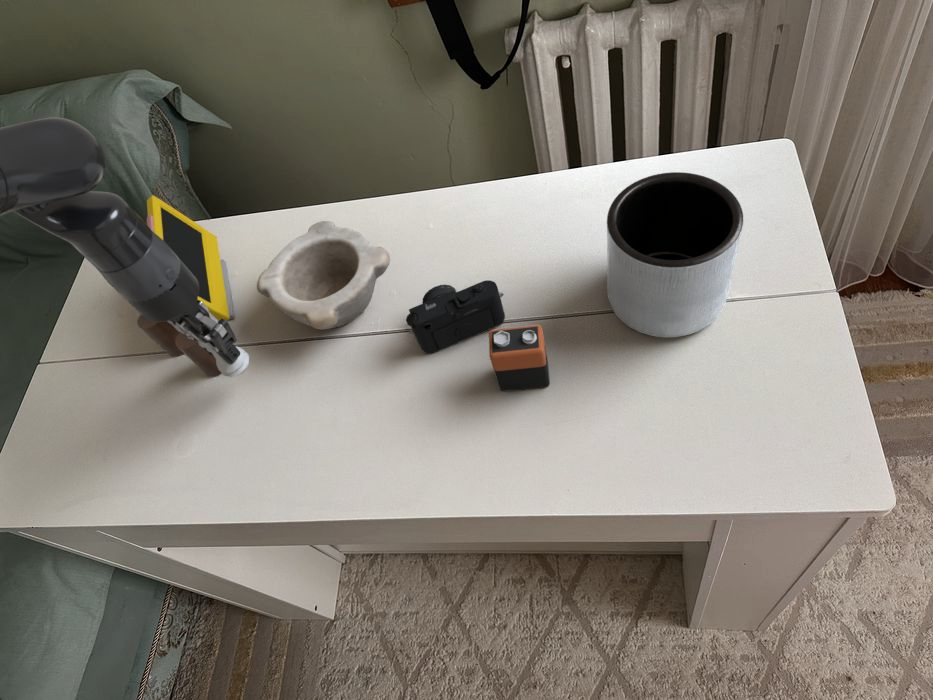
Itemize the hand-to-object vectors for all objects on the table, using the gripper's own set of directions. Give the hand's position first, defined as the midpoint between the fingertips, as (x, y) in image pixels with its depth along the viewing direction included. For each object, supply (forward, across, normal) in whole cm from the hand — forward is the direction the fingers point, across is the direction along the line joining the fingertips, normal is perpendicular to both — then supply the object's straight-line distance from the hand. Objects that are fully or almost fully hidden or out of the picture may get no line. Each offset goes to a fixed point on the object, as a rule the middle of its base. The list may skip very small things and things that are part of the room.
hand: (224, 353), depth 86 cm
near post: (+9, -9, 0) cm, 13 cm away
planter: (+10, +48, +38) cm, 62 cm away
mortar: (+10, +3, +18) cm, 21 cm away
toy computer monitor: (+10, -20, +10) cm, 24 cm away
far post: (+9, -18, 0) cm, 20 cm away
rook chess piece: (+3, 0, 0) cm, 3 cm away
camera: (+10, +23, +22) cm, 33 cm away
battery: (+10, +36, +18) cm, 41 cm away
